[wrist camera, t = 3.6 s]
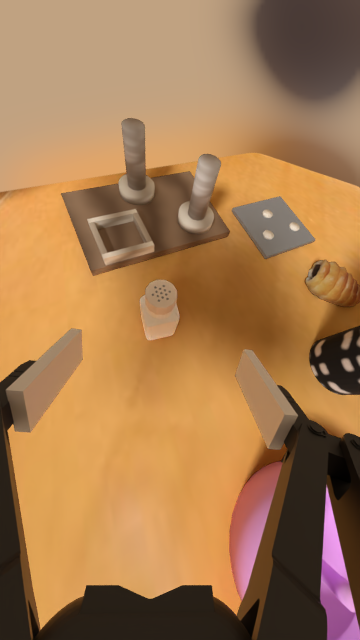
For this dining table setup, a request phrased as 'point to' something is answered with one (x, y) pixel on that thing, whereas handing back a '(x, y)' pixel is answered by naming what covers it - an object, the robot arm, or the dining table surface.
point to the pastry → (333, 284)
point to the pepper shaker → (159, 310)
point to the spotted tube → (338, 362)
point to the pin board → (145, 210)
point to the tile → (272, 226)
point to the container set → (334, 580)
